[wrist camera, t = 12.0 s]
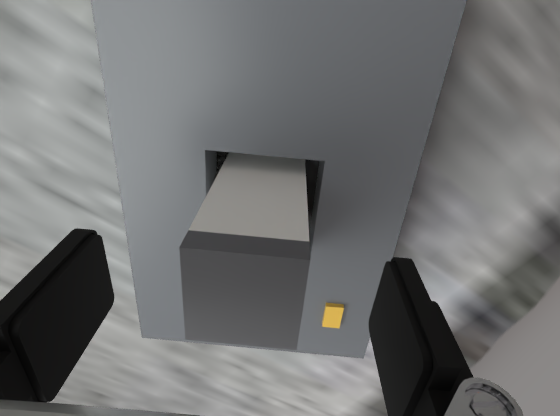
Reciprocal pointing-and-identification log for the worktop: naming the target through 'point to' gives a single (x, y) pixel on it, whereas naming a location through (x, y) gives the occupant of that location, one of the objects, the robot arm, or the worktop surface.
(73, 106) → the worktop surface
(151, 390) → the worktop surface
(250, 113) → the outlet plate
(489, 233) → the worktop surface
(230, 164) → the grey rectangular block
